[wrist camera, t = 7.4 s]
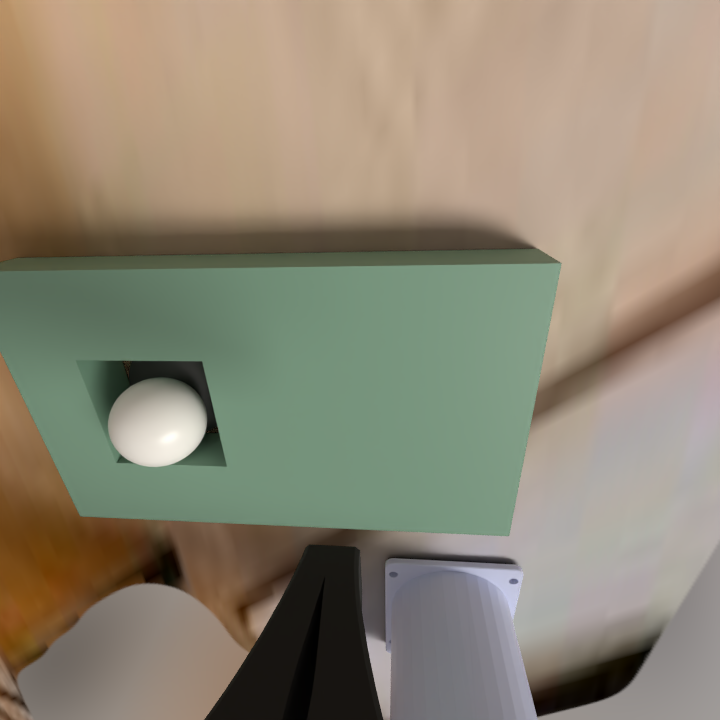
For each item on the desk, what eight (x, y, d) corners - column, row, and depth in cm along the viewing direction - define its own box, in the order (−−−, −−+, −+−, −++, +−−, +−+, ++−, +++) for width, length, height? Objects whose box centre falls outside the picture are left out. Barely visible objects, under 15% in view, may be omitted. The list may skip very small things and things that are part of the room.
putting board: (497, 496, 21) (509, 536, 19) (110, 482, 23) (80, 516, 21) (537, 248, 15) (561, 263, 13) (17, 257, 17) (-39, 271, 15)
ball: (174, 413, 21) (235, 426, 20) (116, 474, 18) (182, 494, 17) (139, 354, 19) (206, 365, 17) (66, 414, 16) (139, 433, 15)
